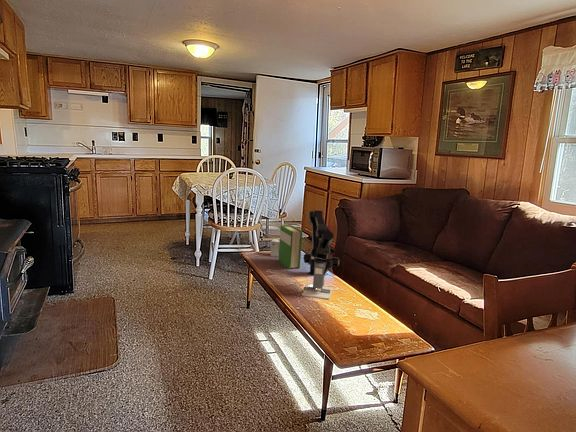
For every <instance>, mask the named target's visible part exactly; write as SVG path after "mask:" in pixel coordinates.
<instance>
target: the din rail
mask: <svg viewBox="0 0 576 432" xmlns="http://www.w3.org/2000/svg"><path fill="white" fill-rule="evenodd" d="M305 288H306V290H309V291H315V290H316V288H313V287H307V286H306V287H305ZM321 292H324V293H330V292H331V290H328V289H321Z"/></svg>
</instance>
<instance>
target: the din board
mask: <svg viewBox="0 0 576 432" xmlns="http://www.w3.org/2000/svg"><path fill="white" fill-rule="evenodd" d="M309 285H311V284H307V285H306V287H308V286H309ZM306 287H305V289H304V291H303V292H302V294H301V295H302V296H303V297H308V298H317V299H322V300H323V299H324V300H331V299H330V298H331V296H332V293H333V289H334V287H330V286H323V288H322V289H328V290H331V292H330V293H324V292H321V289H316V290H315V291H309V290H306Z"/></svg>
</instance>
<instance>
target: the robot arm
mask: <svg viewBox="0 0 576 432" xmlns="http://www.w3.org/2000/svg"><path fill="white" fill-rule="evenodd" d="M323 215H324V213H323V211H322V210H321V209H317V210H309V212H308V213H307V218H308V222H309V224H310V226H311V245H312V246H311V248H312V249H311V250H310V252H309V253H304V254H303V262H304V263H305V264H308V265H309V266H310V268H309V272H307V274H308V275H312V276H314V266H315V264H316V263H325V270H324V275H325V276H326V274H327V272H328V271H329V270H330V269H331V268H333V267H337V268H339V266H340V258H339V257H337V256H336V257H334V256H331V259H330V258H328V255H330V254H331V247H330V244H331V243H332V241H333V239H334V236H335V235H334V233H333V232H332V231H331V230H330V228H329V226H328V225H326V223H325V219H324V216H323Z"/></svg>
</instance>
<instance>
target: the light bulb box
mask: <svg viewBox="0 0 576 432" xmlns="http://www.w3.org/2000/svg"><path fill="white" fill-rule="evenodd" d="M279 244H280V239H277V238H273V239H272V240H271V242H270V257H278V258H279Z"/></svg>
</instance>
